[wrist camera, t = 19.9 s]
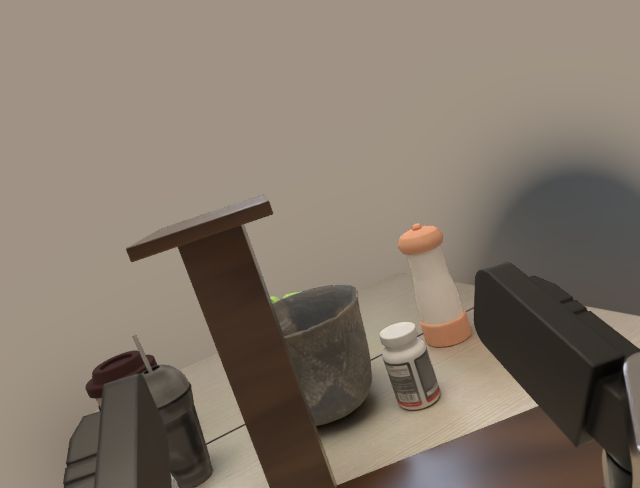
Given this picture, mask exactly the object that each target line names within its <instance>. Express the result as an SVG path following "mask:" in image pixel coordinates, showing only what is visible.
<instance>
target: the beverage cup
mask: <svg viewBox="0 0 640 488" xmlns="http://www.w3.org/2000/svg"><path fill="white" fill-rule="evenodd" d="M133 339H134V341H135V343H136V346H137V348H138V350H139V352H140V354H141V357H142V359H143V361H144V363H145V365H146V368H147V370H145V371H144V372H143V373H142V375H143V377H144V379H145V381H146V383H147V385H148V388H149V390H150V392H151V394H152V397H153V399H154V401H155V404H156V406H157V408H158V410H159V413H160V415H161V417H162V420H163V422H164V425H165V429H166V433H167V437H168V443H169V455H170V472H171V474H172V475H173V477H174V478H175V480H176V481H177V483H178V485H179V487H180V488H193V487H196V486H198V485H200V484H201V483H203V482H204V481H205V480H206V479H208V478H209V476H210V475H211V473H212V471H213V470H212V466H211V462H210V456H209V453H208V450H207V446H206V443H205V440H204V436H203V433H202V430H201V426H200V423H199V420H198V416H197V413H196V410H195V406H194V400H193V394H192V390H191V384H190V383H189V382H188V380H187V378H186V377H185V375H184V374H183V373H182V372H181V371H179V370H178V369H176V368H174V367H172V366H169V365H156V366H153V367H151V366H150V364H149V362H148V359H147V357H146V355H145V353H144V351H143V349H142V346H141V344H140V342H139V340H138V338H137V335H134V336H133Z"/></svg>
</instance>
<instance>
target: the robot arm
mask: <svg viewBox="0 0 640 488" xmlns="http://www.w3.org/2000/svg"><path fill="white" fill-rule="evenodd" d="M474 325H475V329H476V332H477V334H478V336H479V338H480V340H481V341H482V343H483V344H484V345H485V346H486V347H487V349H488V350H489V351H490V352H491V353H492V354H493V355H494V356H495V358H496V359H497V360H498V361H499V362H500V363H501V364H502V365H503V366H504V368H505V369H506V370H507V371H508V372H509V373H510V374H511V375H512V376H513V378H514V379H515V380H516V381H517V382H518V383H519V384H520V385H521V386H522V388H523V389H524V390H525V391H526V392H527V393H528V394H529V395H530V396H531V398H532V399H533V400H534V401H535V402H536V403H537V404H538V405H539V406H540V408H541V409H542V410H543V411H544V412H545V413H546V414H547V415H548V416H549V418H550V419H551V420H552V421H553V422H554V423H555V424H556V425H557V426H558V428H559V429H560V430H561V431H562V432H563V433H564V434H565V435H566V437H567V438H568V439H569V440H570V441H571V442H572V443H573V444H574V445H575V447H579V446H581V445H584V444H586V443H589V442H591V441H594V440H596V441H597V442H598V443H599V444H600V445H601V446H602V447H603V451H602V455H601V460H602V469H603V478H604V486H605V488H640V349H639V348H637V347H636V346H635V345H633V344H632V343H631V342H630V341H628V340H627V339H626V338H624V337H623V336H622V335H621V334H619V333H618V332H617V331H615V330H614V329H613V328H612V327H610V326H609V325H608V324H606V323H605V322H604V321H603V320H601V319H600V318H599V317H597V316H596V315H595V314H593V313H592V312H591V311H587V308H586V307H584V306H583V305H582V304H581V303H579V302H578V301H577V300H575V301H574V300H573V297H572V296H570V295H569V294H568V293H566V292H565V291H564V290H562V289H561V288H560V287H558V286H557V285H556V284H554V283H551V282H549V281H546V280H544V279H541V278H539V277H536V276H531V277H528V276H527V275H526V274H524V273H523V272H522V271H520V270H519V269H518V268H517V267H516V266H515V265H513V264H512V263H509V262H505V263H502V264H498V265H496V266H492V267H489V268H486V269H482V270H479V271H478V272H477V274H476V276H475V298H474ZM66 464H67V468H66V469H65V475H64V482H63V484H64V488H171V472H170V455H169V443H168V437H167V433H166V429H165V425H164V422H163V420H162V417H161V415H160V413H159V410H158V408H157V406H156V404H155V401H154V399H153V397H152V394H151V392H150V390H149V388H148V385H147V383H146V381H145V379H144V377H143V375H142V374H141V373H139V374H135V375H132V376H129V377H125V378H122V379H119V380H116V381H112V382H109V383H106V384H104V386H103V391H102V403H101V411H99V412H96V413H93V414H90V415H87V416H84V417H83V418H82V420H81V421H80V423H79V425H78V427H77V428H76V430H75V432H74V433H73V435H72V437H71V439H70V441H69V448H68V455H67V461H66Z"/></svg>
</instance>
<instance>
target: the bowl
mask: <svg viewBox="0 0 640 488" xmlns="http://www.w3.org/2000/svg"><path fill="white" fill-rule="evenodd" d="M273 307H274V310H275V313H276V315H277V318H278V321H279V324H280V327H281V329H282V332H283V335H284V338H285V341H286V343H287V346H288V349H289V352H290V355H291V357H292V360H293V363H294V366H295V369H296V372H297V374H298V377H299V380H300V383H301V386H302V388H303V391H304V394H305V397H306V400H307V402H308V405H309V408H310V411H311V414H312V416H313V419H314V422H315V425H316V426H318V425H324V424H327V423H330V422H333V421H336V420H338V419H341V418H343V417H345V416H347V415H348V414H350V413H351V412H352V411H353V410H355V409H356V408H357V407H359V406H360V405H361V404H362V402H363V401H364V400H365V399H366V397H367V395H368V394H369V392H370V388H371V383H372V372H371V362H370V355H369V349H368V343H367V339H366V334H365V330H364V326H363V322H362V318H361V313H360V309H359V303H358V291H357V290H356V288H355V287H353V286H350V285H335V286H333V285H330V286H324V287H319V288H313V289H309V290H306V291H302V292H300V293H297V294H293V295H291V296H288V297H285V298H283V299H281V300H279V301H277V302H275V303H273Z"/></svg>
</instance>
